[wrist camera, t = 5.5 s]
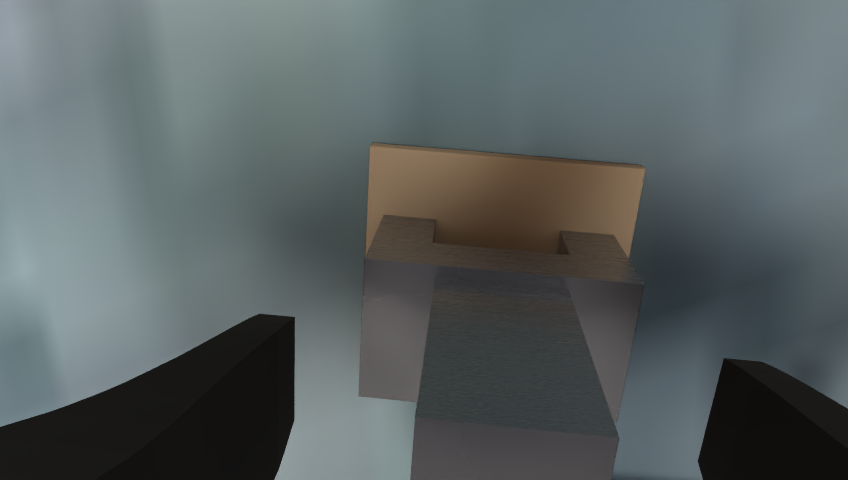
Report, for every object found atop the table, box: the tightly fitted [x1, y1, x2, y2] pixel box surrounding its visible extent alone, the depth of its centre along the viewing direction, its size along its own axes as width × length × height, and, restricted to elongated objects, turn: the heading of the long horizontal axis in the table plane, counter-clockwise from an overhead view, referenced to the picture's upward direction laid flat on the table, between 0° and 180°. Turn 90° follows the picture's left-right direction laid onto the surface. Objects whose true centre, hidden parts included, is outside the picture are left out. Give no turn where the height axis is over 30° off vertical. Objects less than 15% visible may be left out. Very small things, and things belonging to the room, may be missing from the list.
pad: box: [365, 143, 646, 258], centre depth 16 cm, size 6×6×1 cm
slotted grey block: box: [359, 215, 644, 480], centre depth 12 cm, size 3×5×7 cm, turn 86°
